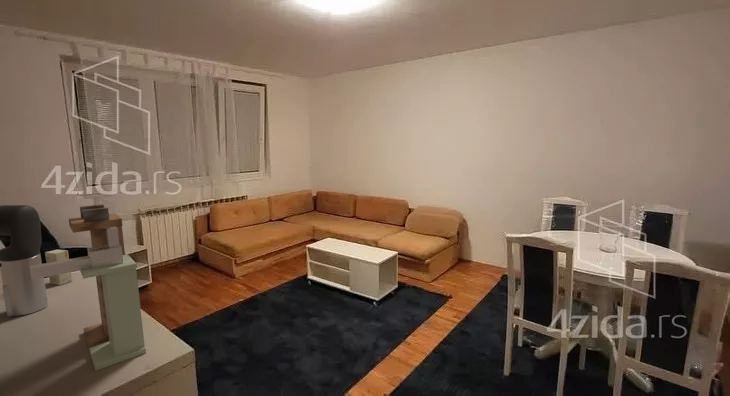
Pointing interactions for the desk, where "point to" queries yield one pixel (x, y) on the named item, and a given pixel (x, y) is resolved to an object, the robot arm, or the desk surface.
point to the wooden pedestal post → (96, 223)
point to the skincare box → (53, 257)
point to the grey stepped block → (84, 259)
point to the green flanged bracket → (119, 313)
